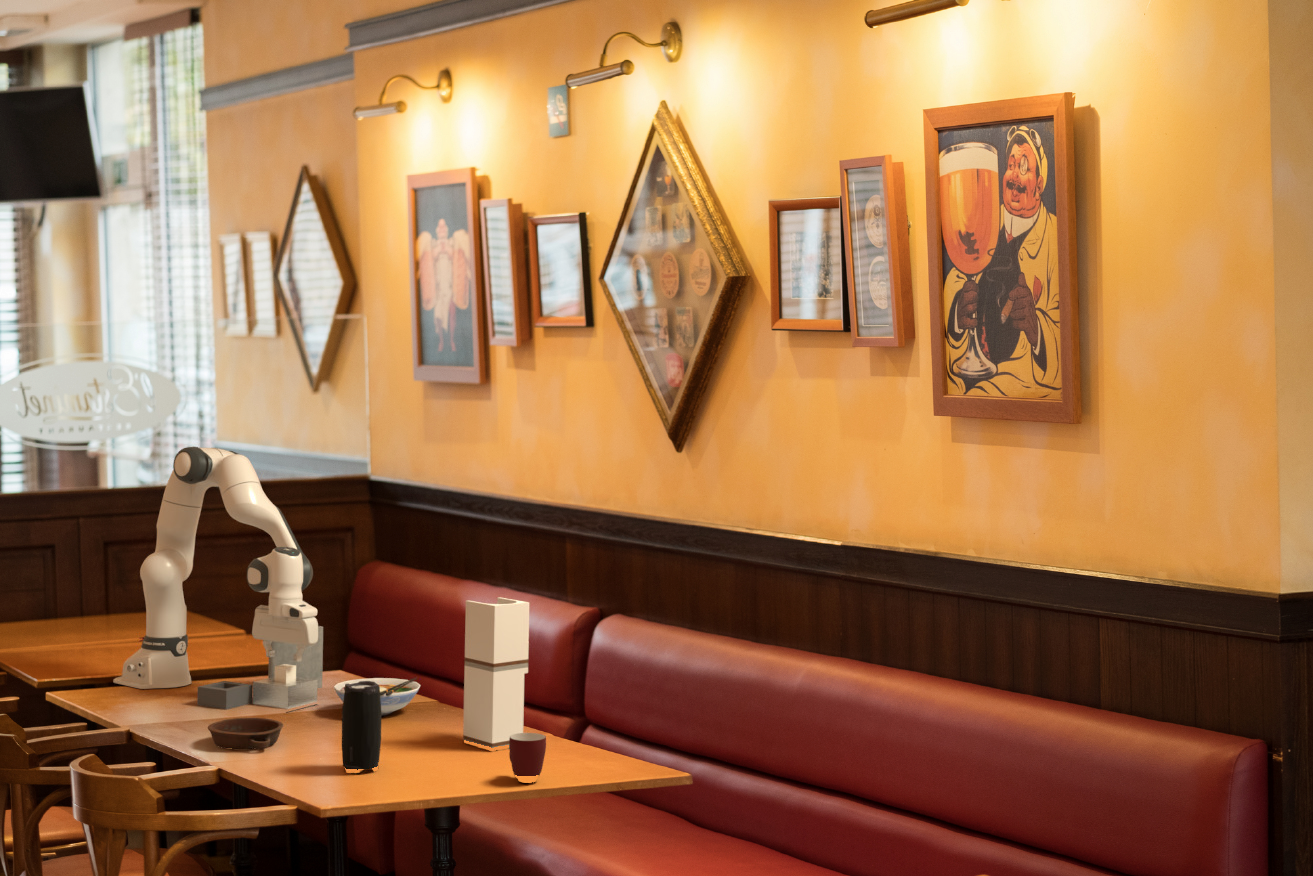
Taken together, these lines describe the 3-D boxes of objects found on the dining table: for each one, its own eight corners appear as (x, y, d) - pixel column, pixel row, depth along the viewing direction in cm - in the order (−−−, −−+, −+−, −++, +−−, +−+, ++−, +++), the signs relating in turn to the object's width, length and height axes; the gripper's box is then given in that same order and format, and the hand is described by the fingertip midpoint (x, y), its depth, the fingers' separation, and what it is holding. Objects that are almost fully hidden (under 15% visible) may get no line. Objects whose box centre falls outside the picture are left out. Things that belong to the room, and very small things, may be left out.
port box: (252, 707, 399) (252, 681, 399) (282, 700, 410) (282, 674, 410) (287, 712, 394) (288, 686, 394) (317, 705, 405) (317, 679, 404)
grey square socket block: (197, 709, 396) (197, 686, 396) (223, 702, 405) (224, 680, 405) (226, 713, 391) (226, 690, 391) (252, 706, 400) (252, 684, 400)
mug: (493, 779, 330) (494, 734, 329) (521, 773, 335) (522, 729, 335) (525, 788, 322) (525, 742, 322) (552, 782, 328) (553, 737, 328)
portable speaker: (363, 763, 341) (364, 678, 341) (388, 770, 335) (390, 684, 335) (332, 769, 335) (334, 683, 334) (358, 777, 329) (359, 689, 328)
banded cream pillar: (526, 745, 362) (529, 602, 362) (492, 752, 355) (494, 605, 354) (497, 737, 371) (500, 597, 370) (463, 743, 363) (465, 600, 362)
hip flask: (319, 685, 432) (320, 617, 431) (325, 688, 428) (326, 618, 428) (266, 690, 423) (267, 620, 422) (271, 693, 419) (272, 622, 419)
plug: (274, 703, 401) (274, 666, 401) (284, 700, 404) (284, 664, 404) (285, 704, 399) (286, 667, 399) (295, 702, 403) (296, 665, 402)
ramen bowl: (355, 701, 410) (355, 672, 410) (433, 706, 406) (434, 676, 405) (316, 720, 386) (317, 688, 386) (399, 725, 381) (400, 694, 381)
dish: (226, 759, 343) (226, 737, 343) (193, 740, 361) (194, 720, 361) (297, 750, 354) (298, 729, 354) (263, 732, 372) (263, 712, 371)
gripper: (247, 605, 403) (246, 656, 403) (306, 612, 394) (305, 664, 394) (263, 603, 408) (262, 653, 409) (322, 610, 399) (320, 661, 400)
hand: (283, 658), depth 401 cm, fingers open, 8 cm apart
